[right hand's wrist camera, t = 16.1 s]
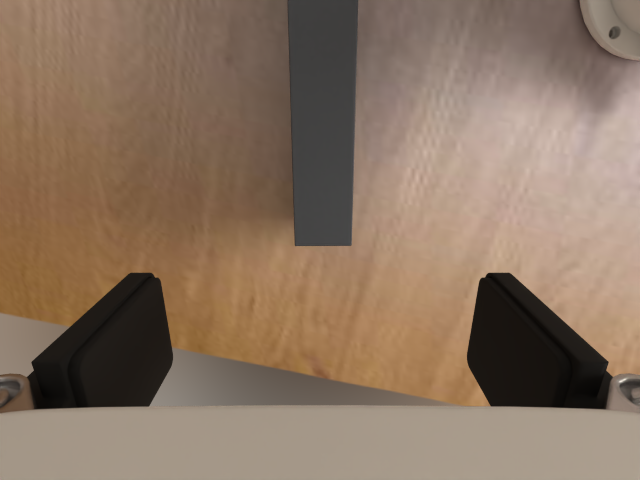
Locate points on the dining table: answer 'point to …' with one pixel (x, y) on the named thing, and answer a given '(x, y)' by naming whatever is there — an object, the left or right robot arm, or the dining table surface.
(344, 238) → the post
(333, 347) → the dining table surface
